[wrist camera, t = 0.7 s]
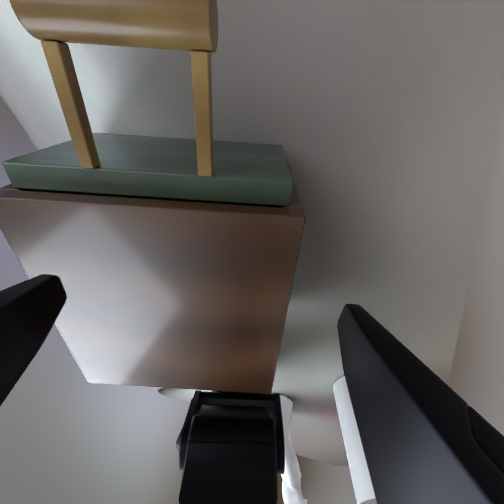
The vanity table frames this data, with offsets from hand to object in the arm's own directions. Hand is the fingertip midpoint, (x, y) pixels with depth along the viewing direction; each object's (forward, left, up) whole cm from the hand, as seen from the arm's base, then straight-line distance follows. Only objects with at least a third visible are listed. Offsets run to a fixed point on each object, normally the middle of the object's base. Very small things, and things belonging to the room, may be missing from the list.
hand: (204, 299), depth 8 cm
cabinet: (-7, +3, -13) cm, 15 cm away
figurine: (-34, -9, -14) cm, 37 cm away
